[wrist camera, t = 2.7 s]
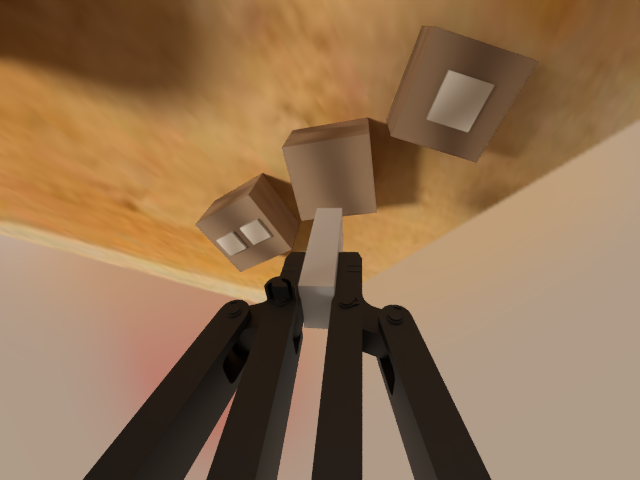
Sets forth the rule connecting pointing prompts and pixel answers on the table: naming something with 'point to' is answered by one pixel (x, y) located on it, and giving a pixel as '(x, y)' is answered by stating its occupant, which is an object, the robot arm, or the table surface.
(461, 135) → the dot block one
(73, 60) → the table surface
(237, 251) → the dot block two
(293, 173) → the plain block
